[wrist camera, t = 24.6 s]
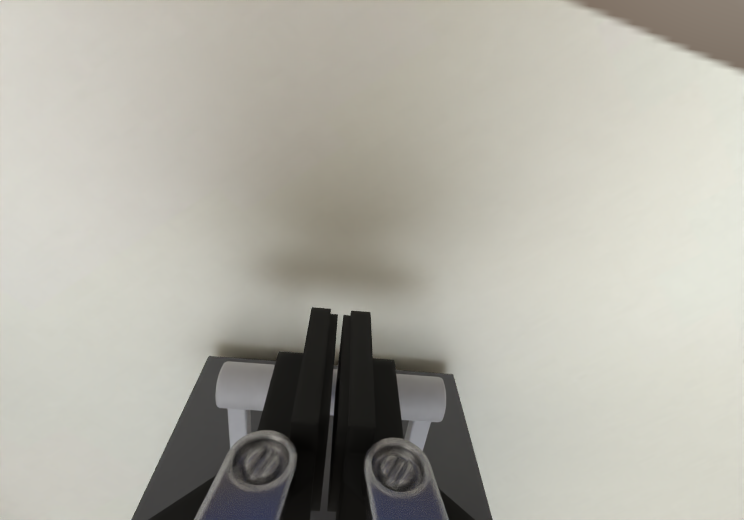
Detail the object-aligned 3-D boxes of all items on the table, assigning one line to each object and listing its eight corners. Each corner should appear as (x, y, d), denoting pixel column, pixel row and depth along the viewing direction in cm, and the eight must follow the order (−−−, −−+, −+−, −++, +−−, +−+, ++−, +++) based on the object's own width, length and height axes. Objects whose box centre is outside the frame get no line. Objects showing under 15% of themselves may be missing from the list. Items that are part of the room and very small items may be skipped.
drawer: (201, 277, 16) (87, 449, 10) (475, 301, 17) (548, 475, 10) (224, 521, 25) (172, 704, 18) (406, 529, 26) (423, 706, 19)
